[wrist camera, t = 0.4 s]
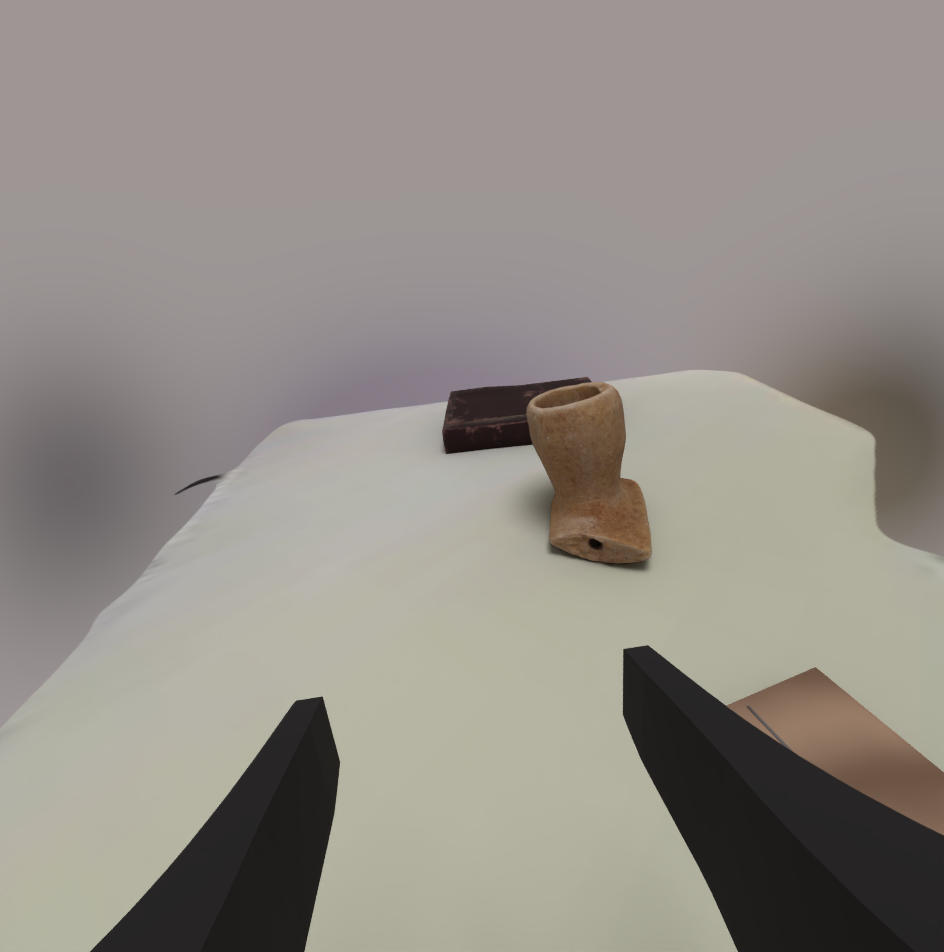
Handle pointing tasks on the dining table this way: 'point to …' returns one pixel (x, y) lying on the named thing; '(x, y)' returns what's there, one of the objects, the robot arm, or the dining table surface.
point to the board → (848, 744)
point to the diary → (493, 415)
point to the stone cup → (589, 474)
